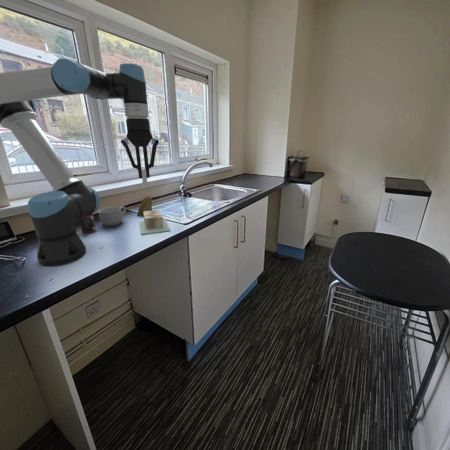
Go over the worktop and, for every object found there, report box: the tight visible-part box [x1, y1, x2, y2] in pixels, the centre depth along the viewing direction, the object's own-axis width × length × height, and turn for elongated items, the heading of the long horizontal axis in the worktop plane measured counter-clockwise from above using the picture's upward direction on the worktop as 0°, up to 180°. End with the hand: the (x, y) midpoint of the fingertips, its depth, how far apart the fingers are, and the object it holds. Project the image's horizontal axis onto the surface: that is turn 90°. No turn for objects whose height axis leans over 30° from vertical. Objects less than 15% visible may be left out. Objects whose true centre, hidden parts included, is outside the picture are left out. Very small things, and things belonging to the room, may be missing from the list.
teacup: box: [97, 205, 127, 227], centre depth 121 cm, size 14×11×8 cm
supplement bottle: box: [78, 213, 97, 235], centre depth 110 cm, size 6×6×11 cm
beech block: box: [143, 209, 164, 229], centre depth 120 cm, size 8×5×12 cm
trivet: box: [138, 218, 171, 236], centre depth 118 cm, size 13×17×1 cm
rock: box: [136, 196, 153, 217], centre depth 136 cm, size 11×9×10 cm
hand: (145, 186), depth 90 cm, fingers closed
